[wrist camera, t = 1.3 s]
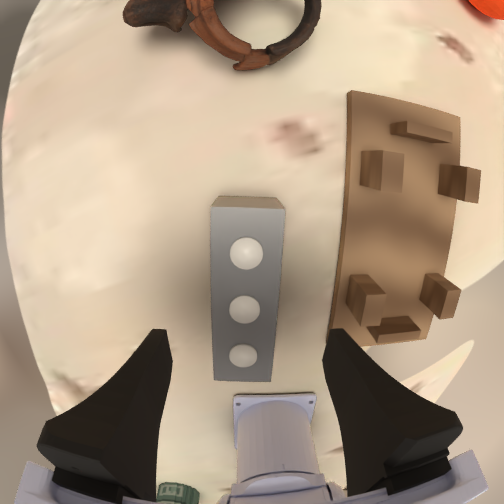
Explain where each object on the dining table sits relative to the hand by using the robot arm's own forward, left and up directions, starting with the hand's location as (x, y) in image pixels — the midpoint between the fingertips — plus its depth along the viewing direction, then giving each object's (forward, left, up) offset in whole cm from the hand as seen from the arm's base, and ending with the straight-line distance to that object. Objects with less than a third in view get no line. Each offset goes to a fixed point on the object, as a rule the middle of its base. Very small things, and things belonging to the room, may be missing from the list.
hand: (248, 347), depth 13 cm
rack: (+3, -12, -10) cm, 16 cm away
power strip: (-1, 0, -10) cm, 10 cm away
